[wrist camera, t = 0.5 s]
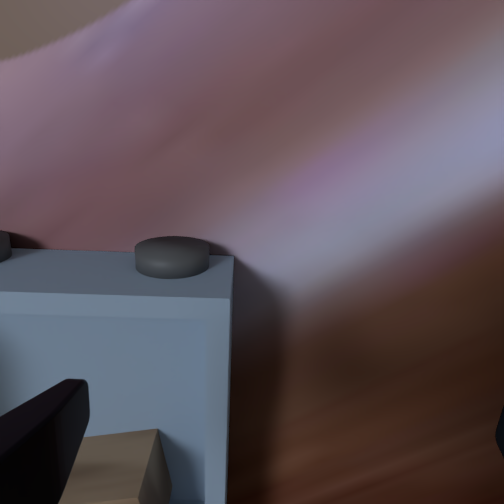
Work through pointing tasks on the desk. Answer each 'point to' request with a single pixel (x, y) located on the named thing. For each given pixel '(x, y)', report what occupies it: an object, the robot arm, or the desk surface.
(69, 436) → the robot arm
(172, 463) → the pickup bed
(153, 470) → the brown cube
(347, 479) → the desk surface
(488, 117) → the desk surface
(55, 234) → the desk surface
